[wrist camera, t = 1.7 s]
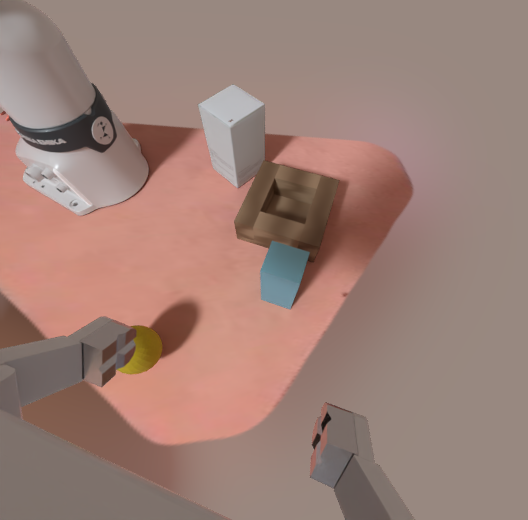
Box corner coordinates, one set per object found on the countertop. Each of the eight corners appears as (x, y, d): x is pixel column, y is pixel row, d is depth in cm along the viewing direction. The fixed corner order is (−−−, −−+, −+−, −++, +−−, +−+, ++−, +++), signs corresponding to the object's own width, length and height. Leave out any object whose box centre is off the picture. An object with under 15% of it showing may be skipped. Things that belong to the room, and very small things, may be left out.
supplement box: (266, 168, 49) (267, 103, 37) (237, 189, 46) (228, 127, 35) (240, 148, 51) (233, 81, 39) (211, 168, 49) (195, 103, 37)
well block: (237, 238, 42) (234, 221, 37) (263, 181, 47) (263, 160, 43) (313, 262, 40) (319, 247, 36) (331, 200, 45) (339, 180, 41)
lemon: (167, 326, 36) (143, 313, 29) (173, 367, 34) (148, 364, 26) (127, 338, 35) (92, 327, 28) (130, 380, 33) (92, 380, 26)
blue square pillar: (261, 299, 38) (260, 270, 28) (269, 275, 39) (272, 240, 29) (290, 309, 37) (300, 283, 27) (297, 285, 39) (309, 252, 29)
